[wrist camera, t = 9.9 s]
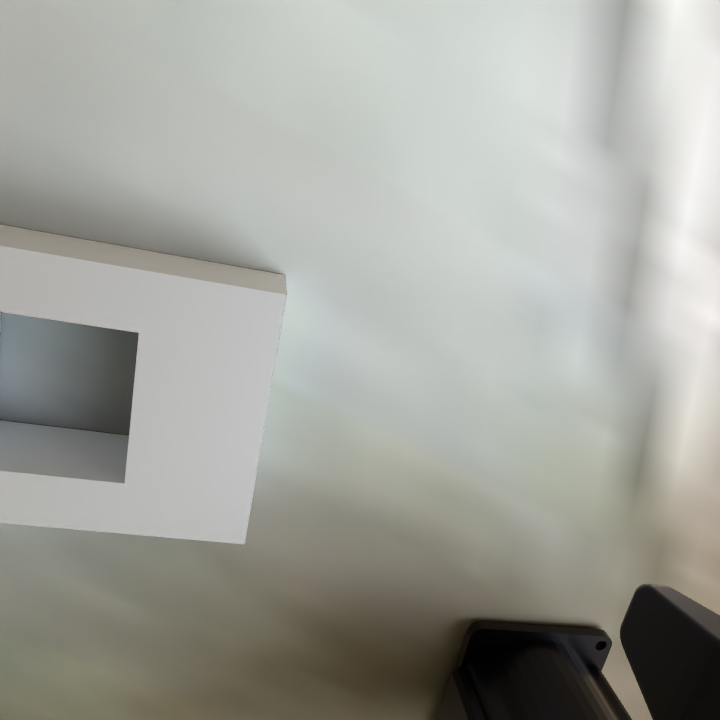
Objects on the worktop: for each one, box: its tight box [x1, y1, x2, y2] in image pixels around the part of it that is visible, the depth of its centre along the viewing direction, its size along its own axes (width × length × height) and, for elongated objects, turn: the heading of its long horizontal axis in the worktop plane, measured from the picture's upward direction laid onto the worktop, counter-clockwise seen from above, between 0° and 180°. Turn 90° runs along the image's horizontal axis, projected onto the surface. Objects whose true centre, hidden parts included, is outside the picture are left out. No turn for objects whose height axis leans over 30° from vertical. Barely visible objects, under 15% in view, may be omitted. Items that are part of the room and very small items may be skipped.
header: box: [0, 224, 287, 544], centre depth 17 cm, size 12×8×3 cm, turn 78°
